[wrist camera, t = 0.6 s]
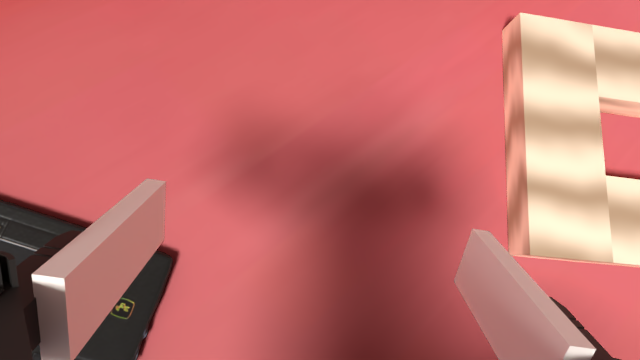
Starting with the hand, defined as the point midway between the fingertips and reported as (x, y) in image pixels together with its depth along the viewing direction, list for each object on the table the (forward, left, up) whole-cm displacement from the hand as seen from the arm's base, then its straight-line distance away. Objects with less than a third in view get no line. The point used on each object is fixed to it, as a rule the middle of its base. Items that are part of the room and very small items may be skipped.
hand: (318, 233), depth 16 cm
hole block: (+13, -32, -17) cm, 39 cm away
